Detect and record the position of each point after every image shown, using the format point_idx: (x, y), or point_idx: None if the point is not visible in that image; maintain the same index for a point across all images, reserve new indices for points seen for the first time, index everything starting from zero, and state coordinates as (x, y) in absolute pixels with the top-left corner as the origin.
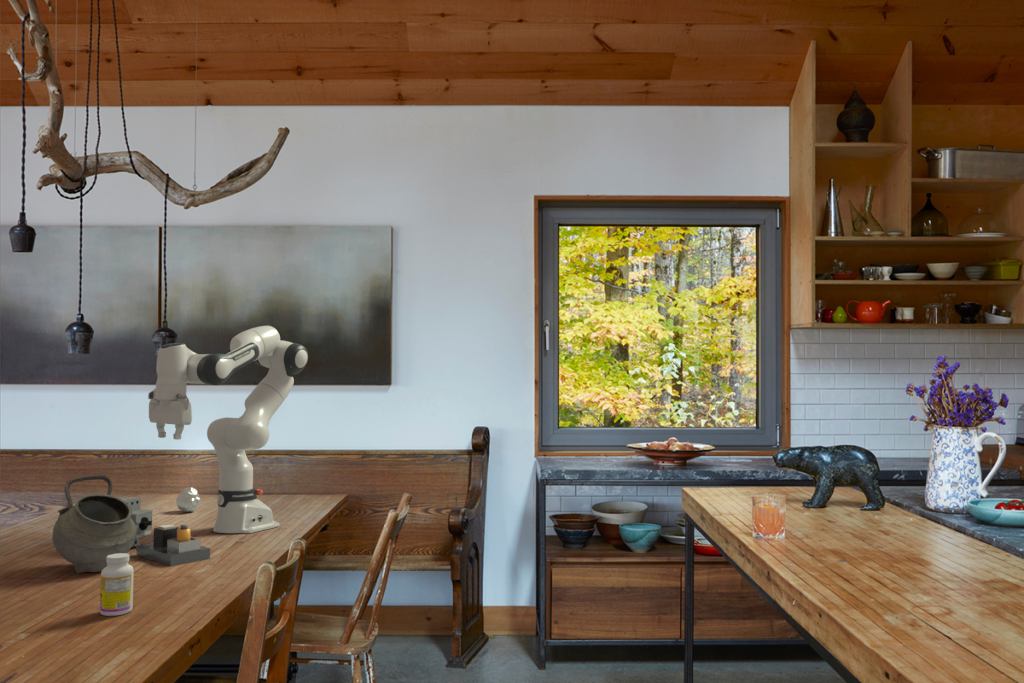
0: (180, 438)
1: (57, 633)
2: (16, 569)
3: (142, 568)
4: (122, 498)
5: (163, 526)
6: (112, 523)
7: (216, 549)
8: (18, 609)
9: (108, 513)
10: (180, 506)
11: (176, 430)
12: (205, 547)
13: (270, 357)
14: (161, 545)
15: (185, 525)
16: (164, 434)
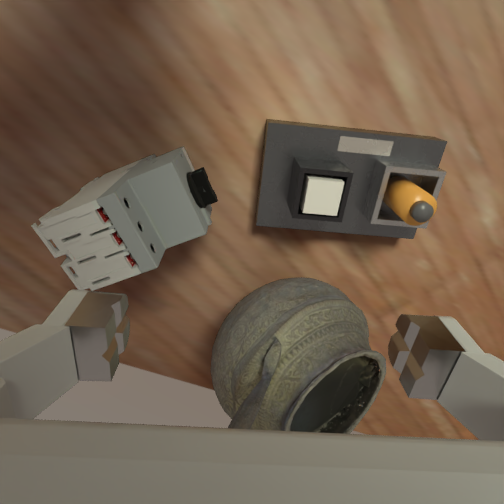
0: (450, 322)
1: None
2: (188, 374)
3: (366, 267)
4: (89, 240)
5: (320, 208)
6: (380, 386)
7: (372, 53)
8: (397, 435)
9: (329, 381)
10: None
11: (500, 440)
12: (428, 142)
13: None
14: None
15: (427, 210)
16: (112, 320)
